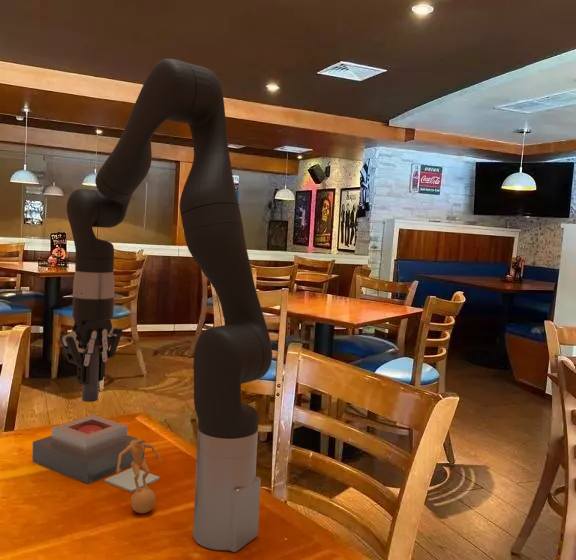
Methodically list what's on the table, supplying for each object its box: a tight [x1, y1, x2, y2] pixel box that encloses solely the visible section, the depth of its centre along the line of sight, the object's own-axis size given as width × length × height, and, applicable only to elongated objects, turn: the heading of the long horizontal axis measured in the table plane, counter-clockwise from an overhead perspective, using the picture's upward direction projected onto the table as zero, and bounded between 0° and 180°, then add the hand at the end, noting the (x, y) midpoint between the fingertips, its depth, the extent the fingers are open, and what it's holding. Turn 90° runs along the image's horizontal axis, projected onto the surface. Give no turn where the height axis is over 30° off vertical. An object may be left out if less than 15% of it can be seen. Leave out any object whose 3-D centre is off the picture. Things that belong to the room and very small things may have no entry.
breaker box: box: [31, 414, 146, 485], centre depth 117 cm, size 16×14×7 cm
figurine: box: [116, 438, 163, 514], centre depth 98 cm, size 8×6×12 cm
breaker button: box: [78, 425, 102, 434], centre depth 116 cm, size 4×4×4 cm
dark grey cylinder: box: [81, 345, 100, 403], centre depth 115 cm, size 3×3×11 cm
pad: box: [104, 467, 161, 493], centre depth 109 cm, size 7×7×1 cm
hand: (91, 381), depth 115 cm, fingers closed on dark grey cylinder, 3 cm apart
